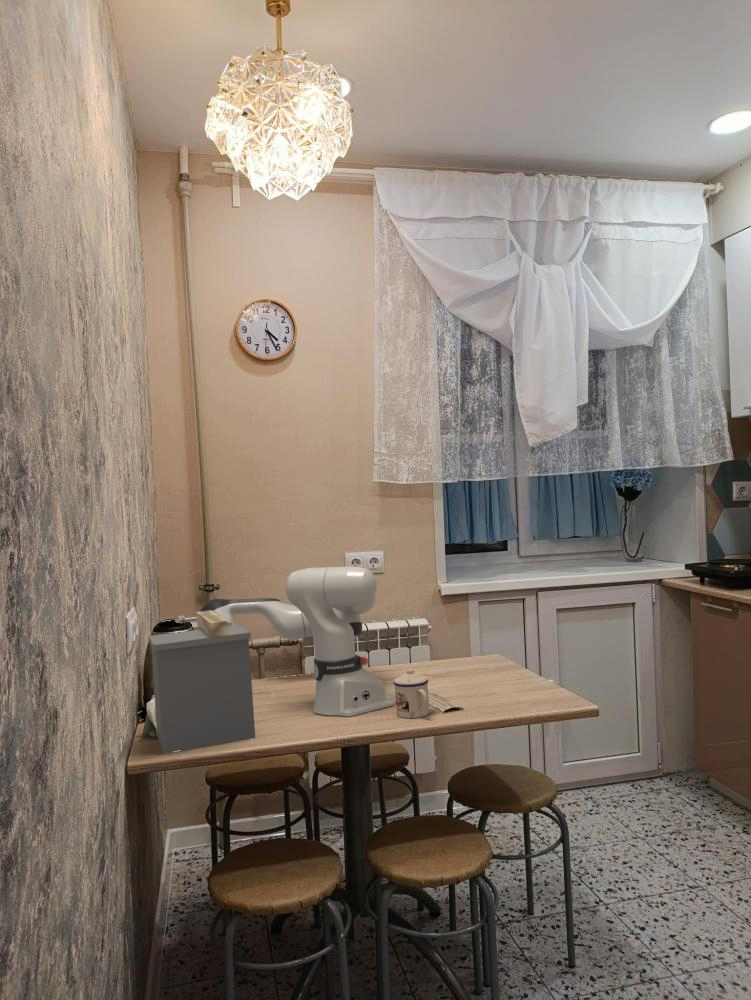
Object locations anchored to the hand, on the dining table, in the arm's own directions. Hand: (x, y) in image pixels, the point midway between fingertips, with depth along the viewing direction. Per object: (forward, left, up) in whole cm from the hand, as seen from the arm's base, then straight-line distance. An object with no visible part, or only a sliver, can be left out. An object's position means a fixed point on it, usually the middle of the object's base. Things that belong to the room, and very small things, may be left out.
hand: (198, 615), depth 212 cm
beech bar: (0, +24, -1) cm, 24 cm away
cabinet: (+4, +29, -27) cm, 39 cm away
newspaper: (-58, +33, -28) cm, 72 cm away
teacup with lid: (-48, +42, -27) cm, 69 cm away
